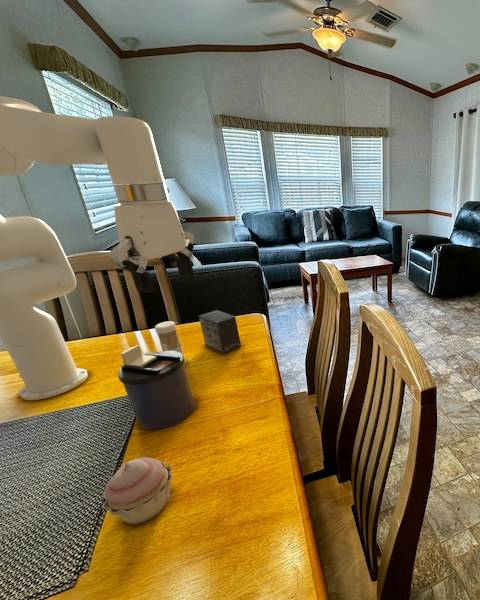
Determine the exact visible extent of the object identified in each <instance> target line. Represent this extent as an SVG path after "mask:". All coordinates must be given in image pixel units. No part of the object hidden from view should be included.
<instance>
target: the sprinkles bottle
mask: <svg viewBox="0 0 480 600" xmlns="http://www.w3.org/2000/svg"><path fill="white" fill-rule="evenodd" d="M154 329H155V332H156V334H157V336H158V340H159V343H160V347H161V351H177V352H180V353H181V354H182V355H183V358H184V367H186V365H187V361H186V359H185V356H184V351H183V348H182V345H181V342H180V339H179V336H178V332H177V326H176V323H175V321H172V320H171V321H170V320H167V321H162V322H160V323H159V322H158V324H156V325H155V326H154Z"/></svg>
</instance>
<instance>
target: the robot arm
mask: <svg viewBox="0 0 480 600" xmlns="http://www.w3.org/2000/svg"><path fill="white" fill-rule="evenodd" d="M153 136H154V135H153V132H152V129H151V127H150V126H149V124H148V123H147V122H146V121H144V120H142V119H139V118H135V117H129V116H115V115H110V116H109V115H107V116H100V117H98V118H90V117H83V116H74V115H68V114H59V113H53V112H52V113H51V112H43V111H42V109H41V110H40V108H38V107H37V106H35V105H34V104H32V103H30V102H28V101H27V100H23V99H20V98H14V97H8V96H3V95H0V177H13V176H20V175H24V174H25V173H27V172H28V171H29V170H31V168H33V166H34V164H35V163H36V162H39V163H46V164H52V165H61V166H63V165H64V166H65V165H67V166H69V165H72V166H73V165H74V166H77V165H79V166H81V165H82V166H83V165H84V166H89V165H90V166H106V167H107V171H108V173H109V176H110V179H111V182H112V186H113V189H114V193H115V197H116V199H117V202H118V203H116V204H114V206H113V207H114V220H115V222H114V223H115V227H116V232H117V237H118V240H119V243H117V245H116V246H115V247H113V248H112V249H111V250H110V251H109V252H108V256H109V257H110V258H111V259H112V260H113V261H114V262H115V263H116V264H117V266H118V267H120V268H122V269H123V270H125V271H126V272H127V273H130V274H131V277H132V280H133V283H134V286H135V288H136V291H137V292H139V293H145V294H146V293H147V294H152V293H154V292H155V289H154V285H153V281H152V278H151V274H150V272H149V271H147V270H146V269H147V266H148V263H149V261H150V260H155V259H158V258H162V257H166V256H169V255H170V256H171V255H173V254H174V255H175V256H176V257H175V264H176V267H177V271H178V274H179V277H183V278H184V277H185V278H193V277H195V271H194V267H193V264H192V258H193V253H192V252H193V251H194V248H195V246H194V243H195V234H193V233H191V232H189V231H186V230H183V227H182V222H181V220H180V218H179V215H178V212H177V210H176V207H175V206H174V204H173V202H172V201H171V200H170V199H169V194H170V189H169V187H168V186H166V184H165V179H164V175H163V171H162V167H161V164H160V163H161V162H160V160H159V155H158V152H157V148H156V144H155V140H154V137H153ZM23 259H30V260H31V262H29V263H24V264H20V265H14V266H9V267H4V268H0V339H1V341H2V343H3V345H4V347H5V348H6V350H7V353H8V354H9V356H10V358H11V360H12V362H13V364H14V366H15V368H16V370H17V371H18V373H19V375H18V377H19V378H20V379H22V382H23V383H24V386H23V387H22V388H20V390H19V396H20V397H21V399H22V400H24V401H25V400H26V401H38V400H39V401H40V400H45V399H48V398H52V397H55V396H58V395H62V394H64V393H66V392H69V391H71V390H74V389H75V388H76V387H79V386H80V385H81V384H83V383H84V382H85V381H86V380H87V379H88V376H89V373H88V371H87V369H85V368H79V367H77V366H76V364H75V361H74V359H73V356H72V354H71V353H70V350H69V348H68V345H67V343H66V341H65V338H64V336H63V334H62V332H61V329H60V328H59V325H58V323H57V321H56V319H55V318H54V316H52V315H51V314H49V313H47V312H45V311H43V310H41V309H39V308H37V307H36V306H37V305H39V304H41V303H44V302H46V301H50V300H54V299H57V298H60V297H64V296H65V295H69V294H70V293H73V292H74V291H75V289H76V288H77V278H76V275H75V272H74V270H73V268H72V266H71V263H70V262H69V260H68V257H67V255H66V253H65V251H64V249H63V247H62V245H61V243H60V241H59V238H58V237H57V235H56V233H55V231H54V230H53V229H52V228H51V227H50V226H49V225H48V224H47V223H46V222H44V221H43V220H41V219H40V218H36V217H34V216H26V215H25V216H24V215H22V216H21V215H20V216H11V217H3V216H2V215H1V214H0V264H2V263H7V262H12V261H18V260H23Z"/></svg>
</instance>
